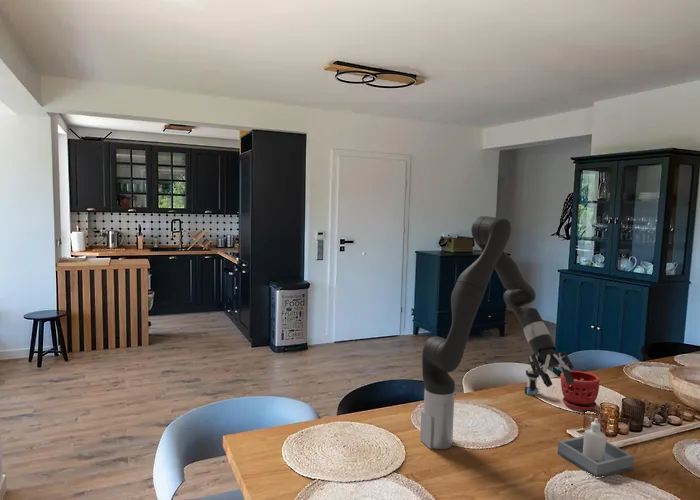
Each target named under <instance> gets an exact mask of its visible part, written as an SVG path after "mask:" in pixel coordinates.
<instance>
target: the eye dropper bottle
mask: <svg viewBox="0 0 700 500" xmlns="http://www.w3.org/2000/svg"><path fill="white" fill-rule="evenodd" d="M583 436H584V443H583V454H584V455H586V456H587V457H589V458H591V459H592V460H594V461H597V462H602V461H604V459H605V446H606V442H607V441H606V440H607V436H606V435H605V433H603V432H602V431H601V423H600V422H599V419H598V418H594V421H592V422H591V424H590V428H587V429H585V430H584V433H583Z"/></svg>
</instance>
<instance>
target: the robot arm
mask: <svg viewBox="0 0 700 500" xmlns="http://www.w3.org/2000/svg"><path fill="white" fill-rule="evenodd" d="M470 231H471V236H472V238H473V240H474V242H475V243H476V245H477V246H478V247H479V248H480V250H481V251H482V253H481V254H480V256H479V257H478V258H477V259H475V260H474V262H472V264H471V265H469V266H468V267H467V268H465V270H463V271H462V273H461V274H460V275H459V276H458V278H457V279H456V283H455V285H454V288H453V290H452V291H451V296H450V307H451V308H450V309H451V326H450V329H449V332H448V334H447V337H446V338H444V337H441V336H437V335H433V336H430V337H429V338H428V339H427V340H426V341H425V343H424V346H423V348H422V354H421V355H422V357H421V360H422V361H421V364H422V369H421V371H422V380H423V382H424V396H423V400H424V401H423V410H421V412H420V428H419V429H420V432H419V433H420V434H419V441H421V443H423V444H424V445H425V446H426V447H427V448H429V450H431V449H434V450H444V449H445V450H447V449H449V448H451V447H452V446H453V439H454V415H455V412H454V411H455V397H456V395H455V391H456V383H455V381H454V379H453V377H451V376H450V374H449V373H451V372H454V371H455V370H456V369H457V368H458V367H459V365H460V364H461V361H462V359H463V357H464V353H465V349H466V346H467V343H468V338H469V336H470V333H471V329H472V326H473V325H474V320H475V318H476V315H477V314H478V310H479V307H480V306H481V304H482V301H483V299H484V296H485V294H486V290H487V288H488V285H489V283H490V279H491V277H492V275H493V273H494V270H495V272H496V273H497V276H498V278H499V279H500V282H501V284H502V286H503V287H504V289H506V290H505V292H504V293H503V300H504V302H505V304H506V305H507V306H508V308H509V309H510V310H511V311H512V312H513V313H514V315H515V316H516V318H517V320H518V321H519V324H520V326H521V328H522V330H523V333H524V336H525V339H526V341H527V344H528V345H529V348H530V350H531V352H532V354H531V355H530V356H529V357H528V358H527V359H528V362H529V365H530V368H532V370H533V373H534V374H535V375H536V374H538V375H539V377H541V380H542V381H543V384H544V385H545V386H546V387H547V388H548V387H549V388H550V387H552V385H553V382H552V380H551V378H550V375H549V373H547V372H548V369H550V368H555V369H556V370H559V371H560V372H561V373H564V374H563V375H564V377H565V379H566V381H567V383H568V384H572V383H573V382H574V380H575V379H573V377H572V375H571V373H570V371H572V370H573V369H574V365H573V363H572V362H571V360H570V358H569V356H568V354H567V352H566V351H562V352H557V349H556V347H557V346H556V344H555V342H554V340H553V338H552V337H553V336H551V334H550V331H549V329H548V328H547V326H546V324H545V323H544V321H543V318H542V317H541V315H540V312H539V311H538V309H537V308H536V307H529V308H528V307H527V308H522V307H523V306H526V305H529V304H532V303H533V302H534V301H535V300H536V297H537V296H536V295H537V294H536V292H535V289H534V288H533V287H532V286H531V284H529V283H528V282H527V281H526V280H525V279H524V277H523V276H522V273H521V271H520V269H519V267H518V266H519V265H517V262H515V260H514V259H513V258H512V257H511V256H509V254H508V253H506V251H505V248H506V246H507V244H508V242H509V240H510V237H511V231H512V226H511V222H510V221H509V220H508V219H507V218H504V217H503V218H502V217H495V216H494V217H493V216H486V215H485V216H477V217H476V218H475V220H474V221H473V222H472V225H471V230H470Z"/></svg>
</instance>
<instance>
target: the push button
mask: <svg viewBox="0 0 700 500" xmlns="http://www.w3.org/2000/svg"><path fill="white" fill-rule="evenodd" d="M525 375H526V377H527V386H524V393H525V395H527V396H536V395H538V394H539V393H541V389H539V387H538V386H537V384H538V383H537V378H540V375H538V374H536V375H535V374H534V373H533V370H532V368H531V367H530V368H528V369H526V370H525Z"/></svg>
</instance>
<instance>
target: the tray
mask: <svg viewBox="0 0 700 500" xmlns="http://www.w3.org/2000/svg"><path fill="white" fill-rule="evenodd" d="M583 443H584V435H582V436H576V437H573V438H572V437H571V438H568V439H563V440H559V441H557V455H558V456H560V457H562V458H563V459H565V460H566V461H567V462H569V463H571V464H572V465H575V466H576V467H578V468H579V469H581V470H582V471H584V472H585V471H586V472H585V473H587V472H588V473H590V474H592V475H593V476H595V477H602V476H606V477H609V476H608V475H610V476H614V475H617V474H622V473H625V472H629V471H633V470H634V459H635V456H634V455H632V454H630V453H629V452H627V451H625V450H623V449H621V448H620V447H617V446H615V445H614V444H611V442H609V441H606V446H605V459H604V461H602V462H597V461H594V460H592V459H591V458H589V457H587V456H586V455H584V454H583ZM588 473H587V474H588ZM590 474H589V475H590ZM593 476H592V477H593ZM602 478H603V477H602Z"/></svg>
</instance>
